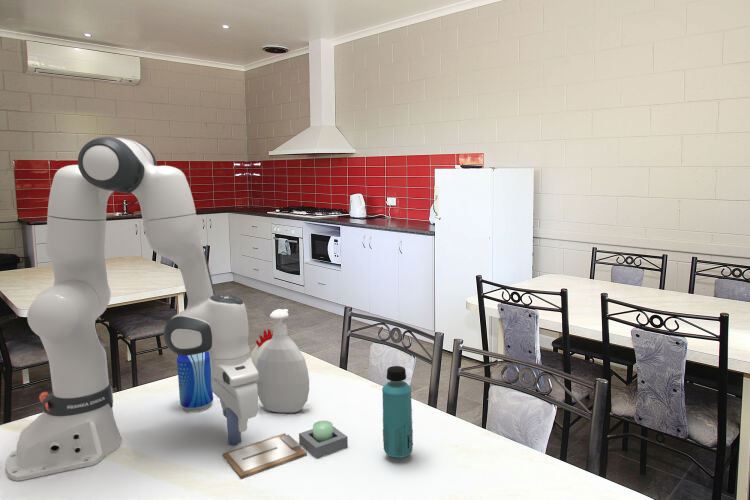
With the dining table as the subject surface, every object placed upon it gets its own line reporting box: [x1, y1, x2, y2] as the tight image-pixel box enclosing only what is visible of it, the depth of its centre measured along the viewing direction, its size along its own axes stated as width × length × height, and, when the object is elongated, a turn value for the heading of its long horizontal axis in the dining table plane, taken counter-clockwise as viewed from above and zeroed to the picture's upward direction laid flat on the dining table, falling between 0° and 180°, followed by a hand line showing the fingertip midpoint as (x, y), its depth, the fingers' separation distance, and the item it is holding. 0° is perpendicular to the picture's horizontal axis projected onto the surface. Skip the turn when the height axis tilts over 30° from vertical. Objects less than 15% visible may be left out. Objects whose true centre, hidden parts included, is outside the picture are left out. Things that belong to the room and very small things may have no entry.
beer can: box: [176, 352, 214, 412], centre depth 141 cm, size 8×8×16 cm
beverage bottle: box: [381, 365, 414, 458], centre depth 113 cm, size 6×7×20 cm
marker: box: [225, 404, 242, 446], centre depth 122 cm, size 3×3×10 cm
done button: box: [312, 420, 334, 443], centre depth 119 cm, size 4×4×4 cm
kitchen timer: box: [250, 328, 273, 368], centre depth 160 cm, size 14×14×15 cm
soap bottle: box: [256, 308, 310, 414], centre depth 137 cm, size 14×8×27 cm, turn 79°
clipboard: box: [221, 433, 308, 479], centre depth 116 cm, size 15×11×1 cm
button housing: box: [298, 426, 349, 459], centre depth 120 cm, size 8×8×2 cm
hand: (234, 423), depth 122 cm, fingers open, 8 cm apart
